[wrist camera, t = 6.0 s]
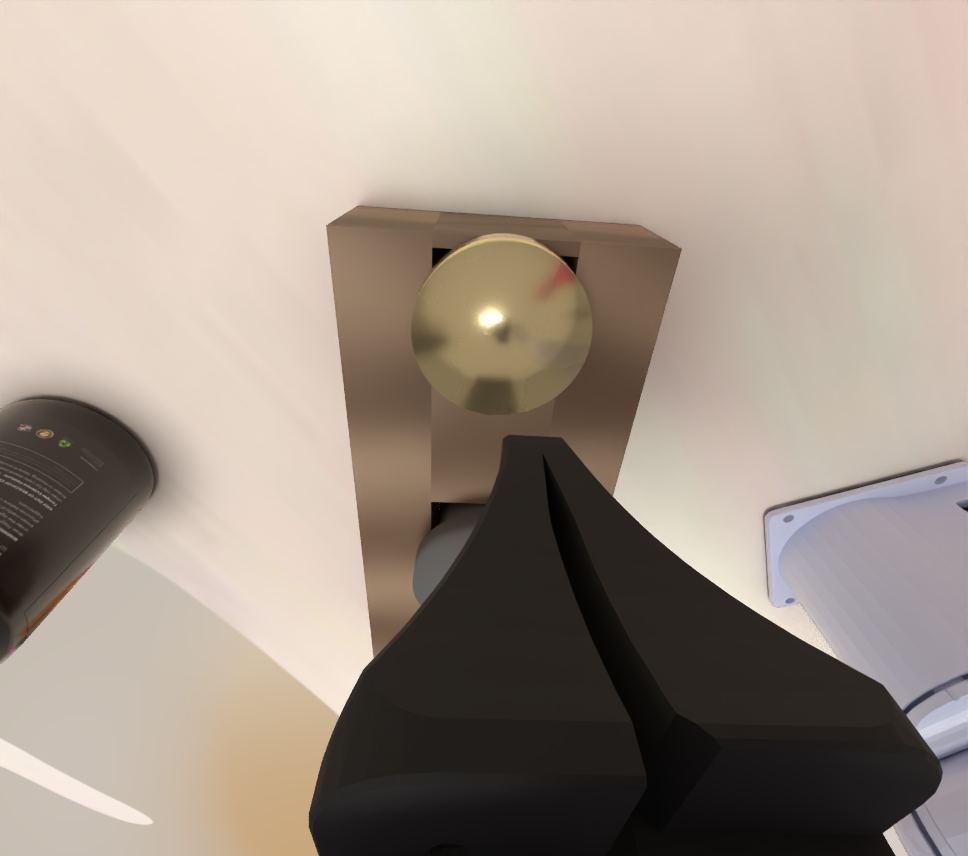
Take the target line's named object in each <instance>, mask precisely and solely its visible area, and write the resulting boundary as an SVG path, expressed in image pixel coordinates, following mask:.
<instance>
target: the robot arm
mask: <svg viewBox="0 0 968 856" xmlns="http://www.w3.org/2000/svg"><path fill="white" fill-rule="evenodd" d="M765 536H766V553H767V571H768V589H769V601H770V602H771V604H772V606H774V607H778V608H779V607H785V606H789V605H794V604H798V603H800V604H801V606H802V607H803V609H804V610H805V611H806V613H807V614H808V616H809V617H810V619H811V620H812V622H813V623H814V625H815V626H816V627H817V629H818V630H819V632H820V633H821V635H822V636H823V638H824V639H825V640H826V642H827V643H828V645H829V646H830V648H831V649H832V651H833V652H834V654H835V655H836V656H837V658H838V659H839V660H837V659H835V658H834V657H832V656H830V655H828V654H826V653H824V652H822V651H821V650H819V649H817V648H815V647H813V646H811V645H810V644H808V643H806V642H804V641H803V640H801V639H799V638H797V637H796V636H794V635H792V634H791V633H789V632H787V631H786V630H784V629H783V628H781V627H779V626H778V625H776V624H774V623H773V622H771V621H770V620H768V619H766V618H765V617H763V616H761V615H760V614H758V613H757V612H755V611H754V610H752V609H751V608H749V607H747V606H746V605H744V604H743V603H741V602H740V601H738V600H737V599H735V598H734V597H732V596H731V595H729V594H728V593H727V592H725V591H724V590H722V589H721V588H720V587H718V586H717V585H715V584H714V583H713V582H711V581H710V580H708V579H707V578H706V577H704V576H703V575H701V574H700V573H699V572H697V571H696V570H695V569H693V568H692V567H691V566H689V565H688V564H687V563H685V562H684V561H683V560H682V559H680V558H679V557H678V556H677V555H676V554H674V553H673V552H672V551H671V550H670V549H668V548H667V547H666V546H665V545H664V544H662V543H661V542H660V541H659V540H658V539H656V538H655V537H654V536H653V535H652V534H651V533H650V532H648V531H647V530H646V529H645V528H644V527H643V526H642V525H641V524H640V523H639V522H638V521H637V520H636V519H635V518H634V517H633V516H632V515H630V514H629V513H628V512H627V511H626V510H625V509H624V508H623V507H622V506H621V505H620V504H619V503H618V502H617V501H616V500H615V498H614V497H613V496H612V495H611V494H610V493H609V492H608V491H607V490H606V489H605V488H604V487H603V485H602V484H601V483H600V482H599V481H598V480H597V479H596V478H595V476H594V475H593V474H592V473H591V472H590V471H589V469H588V468H587V467H586V466H585V465H584V463H583V462H582V461H581V460H580V459H579V457H578V456H577V455H576V454H575V453H574V451H573V450H572V449H571V448H570V446H569V445H568V444H567V443H566V442H565V441H564V439H563V438H562V437H545V436H525V435H507V436H506V437H504V438H503V441H502V451H501V460H500V469H499V472H498V475H497V478H496V480H495V483H494V486H493V489H492V491H491V494H490V496H489V498H488V501H487V503H486V505H485V507H484V509H483V511H482V514H481V516H480V518H479V520H478V522H477V524H476V526H475V527H474V529H473V531H472V533H471V535H470V536H469V538H468V540H467V541H466V543H465V545H464V547H463V548H462V550H461V551H460V553H459V554H458V556H457V557H456V559H455V560H454V562H453V563H452V565H451V567H450V568H449V570H448V571H447V572H446V574H445V575H444V577H443V578H442V580H441V581H440V582H439V584H438V585H437V586H436V588H435V589H434V590H433V591H432V593H431V594H430V595H429V596H428V598H427V599H426V600H425V601H424V603H423V604H422V605H421V606H420V608H419V609H418V610H417V611H416V613H415V614H414V615H413V616H412V618H411V619H410V620H409V621H408V622H407V623H406V625H405V626H404V627H403V628H402V629H401V630H400V631H399V632H398V633H397V634H396V635H395V637H394V638H393V639H392V640H391V641H390V642H389V643H388V644H387V645H386V646H385V647H384V648H383V649H382V650H381V651H380V652H379V654H378V655H377V656H376V657H375V658H374V659H373V660H372V661H371V662H370V663H369V664H368V665H367V666H366V667H365V668H364V670H363V671H362V673H361V675H360V677H359V679H358V681H357V683H356V685H355V687H354V689H353V690H352V692H351V694H350V696H349V698H348V700H347V702H346V704H345V706H344V708H343V711H342V713H341V715H340V717H339V719H338V721H337V723H336V726H335V728H334V730H333V733H332V735H331V738H330V740H329V743H328V746H327V749H326V752H325V754H324V757H323V760H322V763H321V767H320V771H319V775H318V779H317V783H316V787H315V791H314V795H313V799H312V803H311V807H310V811H309V828H310V832H311V834H312V837H313V840H314V843H315V846H316V849H317V852H318V855H319V856H895V854H894V852H893V851H892V849H891V847H890V846H889V844H888V842H887V840H886V839H885V837H884V835H883V832H885V831H886V830H888V829H889V828H890V827H892V826H893V827H894V829H895V831H896V834H897V836H898V837H899V839H900V841H901V843H902V845H903V847H904V849H905V851H906V852H907V854H908V856H968V463H967V462H958V463H954V464H950V465H946V466H942V467H939V468H935V469H931V470H927V471H923V472H919V473H915V474H911V475H907V476H904V477H900V478H896V479H892V480H888V481H884V482H880V483H876V484H873V485H869V486H865V487H861V488H857V489H853V490H849V491H845V492H841V493H838V494H834V495H830V496H826V497H822V498H818V499H814V500H810V501H806V502H803V503H799V504H795V505H791V506H787V507H783V508H779V509H775V510H772V511H770V512H769V513H767V515H766V516H765Z"/></svg>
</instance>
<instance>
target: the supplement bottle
mask: <svg viewBox="0 0 968 856" xmlns="http://www.w3.org/2000/svg"><path fill="white" fill-rule="evenodd" d="M153 482H154V477H153V471H152V467H151V464H150V462H149V459H148V457H147V455H146V454H145V452H144V451H143V449H142V448H141V446H140V445H139V444H138V443H137V441H136V440H135V439H134V438H133V437H132V436H131V435H130V434H129V433H128V432H127V431H125V430H124V429H123V428H122V427H120V426H119V425H118V424H116V423H115V422H113V421H112V420H110V419H109V418H107V417H105V416H103V415H101V414H99V413H97V412H95V411H93V410H91V409H88V408H86V407H83V406H80V405H77V404H73V403H70V402H65V401H59V400H51V399H31V400H24V401H20V402H15V403H12V404H10V405H7V406H5V407H3V408H1V409H0V664H1V663H3V662H4V661H5V660H7V659H8V658H9V657H10V656H11V655H12V654H13V653H14V652H15V651H16V650H17V649H18V648H19V647H20V645H22V644H23V643H24V641H25V640H26V639H27V638H28V637H29V636H30V635H31V634H32V632H33V631H34V630H35V629H36V628H37V627H38V626H39V625H40V623H41V622H42V621H43V620H44V619H45V618H46V617H47V616H48V614H49V613H50V612H51V611H52V610H53V609H54V607H56V605H57V604H58V603H59V602H60V601H61V600H62V599H63V597H64V596H65V595H66V594H67V593H68V592H69V591H70V590H71V589H72V587H73V586H74V585H75V584H76V583H77V582H78V581H79V579H80V578H81V577H82V576H83V575H84V574H85V573H86V572H87V570H88V569H89V568H90V567H91V566H92V565H93V564H94V563H95V561H96V560H97V559H98V558H99V557H100V556H101V555H102V554H103V552H104V551H105V550H106V549H107V548H108V547H109V546H110V545H111V543H112V542H113V541H114V540H115V539H116V538H117V537H118V536H119V534H120V533H121V532H122V531H123V530H124V529H125V528H126V527H127V525H128V524H129V523H130V522H131V521H132V520H133V519H134V517H135V516H136V515H137V514H138V513H139V511H140V510H141V509H142V508H143V507H144V505H145V504H146V503H147V501H148V500H149V498H150V496H151V493H152V490H153Z"/></svg>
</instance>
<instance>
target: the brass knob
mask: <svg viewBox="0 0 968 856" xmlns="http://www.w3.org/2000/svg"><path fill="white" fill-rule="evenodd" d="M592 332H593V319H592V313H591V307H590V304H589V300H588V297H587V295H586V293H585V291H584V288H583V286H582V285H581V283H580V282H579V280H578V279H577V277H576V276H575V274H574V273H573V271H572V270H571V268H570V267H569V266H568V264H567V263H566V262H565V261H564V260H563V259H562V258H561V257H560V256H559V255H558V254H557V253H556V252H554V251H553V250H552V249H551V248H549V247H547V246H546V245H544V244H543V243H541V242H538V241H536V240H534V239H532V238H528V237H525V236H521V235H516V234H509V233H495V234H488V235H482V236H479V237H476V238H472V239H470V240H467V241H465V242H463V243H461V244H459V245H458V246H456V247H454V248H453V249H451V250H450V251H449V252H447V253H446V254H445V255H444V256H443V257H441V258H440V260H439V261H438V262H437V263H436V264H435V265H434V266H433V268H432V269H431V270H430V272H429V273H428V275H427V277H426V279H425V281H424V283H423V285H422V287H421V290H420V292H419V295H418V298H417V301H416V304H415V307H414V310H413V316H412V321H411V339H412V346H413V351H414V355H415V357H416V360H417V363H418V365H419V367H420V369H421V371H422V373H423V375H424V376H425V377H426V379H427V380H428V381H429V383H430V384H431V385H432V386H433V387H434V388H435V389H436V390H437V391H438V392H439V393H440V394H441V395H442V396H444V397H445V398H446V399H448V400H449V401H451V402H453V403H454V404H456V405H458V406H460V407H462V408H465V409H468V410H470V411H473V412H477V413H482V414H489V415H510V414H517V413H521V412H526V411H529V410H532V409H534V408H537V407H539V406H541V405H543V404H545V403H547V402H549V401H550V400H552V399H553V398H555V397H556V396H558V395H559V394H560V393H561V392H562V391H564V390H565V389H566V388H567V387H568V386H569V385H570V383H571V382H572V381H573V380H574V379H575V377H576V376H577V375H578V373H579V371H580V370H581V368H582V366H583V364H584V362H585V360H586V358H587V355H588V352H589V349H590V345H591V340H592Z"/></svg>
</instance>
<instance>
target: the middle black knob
mask: <svg viewBox="0 0 968 856" xmlns="http://www.w3.org/2000/svg"><path fill="white" fill-rule="evenodd" d="M485 505H486V504H476V503H450V502H442V503H441V514H440V525H438V526H436V527H435V528H434V529H432V530H431V531H430V532H429V533H428V534H427V535H426V536H425V537H424V538H423V540H422V541H421V543H420V545H419V547H418V550H417V554H416V560H415V567H414V575H413V584H412V585H413V592H414V595H415V597H416V599H417V601H418V603H419V604H420V605H422V604H423V603H424V601H425V600H426V599H427V598H428V596H429V595H430V594H431V593H432V591H433V590H434V589H435V588H436V586H437V585H438V584H439V582H440V581H441V580H442V578H443V577H444V575H445V574H446V572H447V571H448V570H449V568H450V567H451V565H452V563H453V562H454V560H455V559H456V557H457V556H458V554H459V553H460V551H461V550H462V548H463V547H464V545H465V543H466V541H467V540H468V538H469V536H470V535H471V533H472V531H473V529H474V527H475V526H476V524H477V522H478V520H479V518H480V516H481V514H482V511H483V509H484V507H485Z"/></svg>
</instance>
